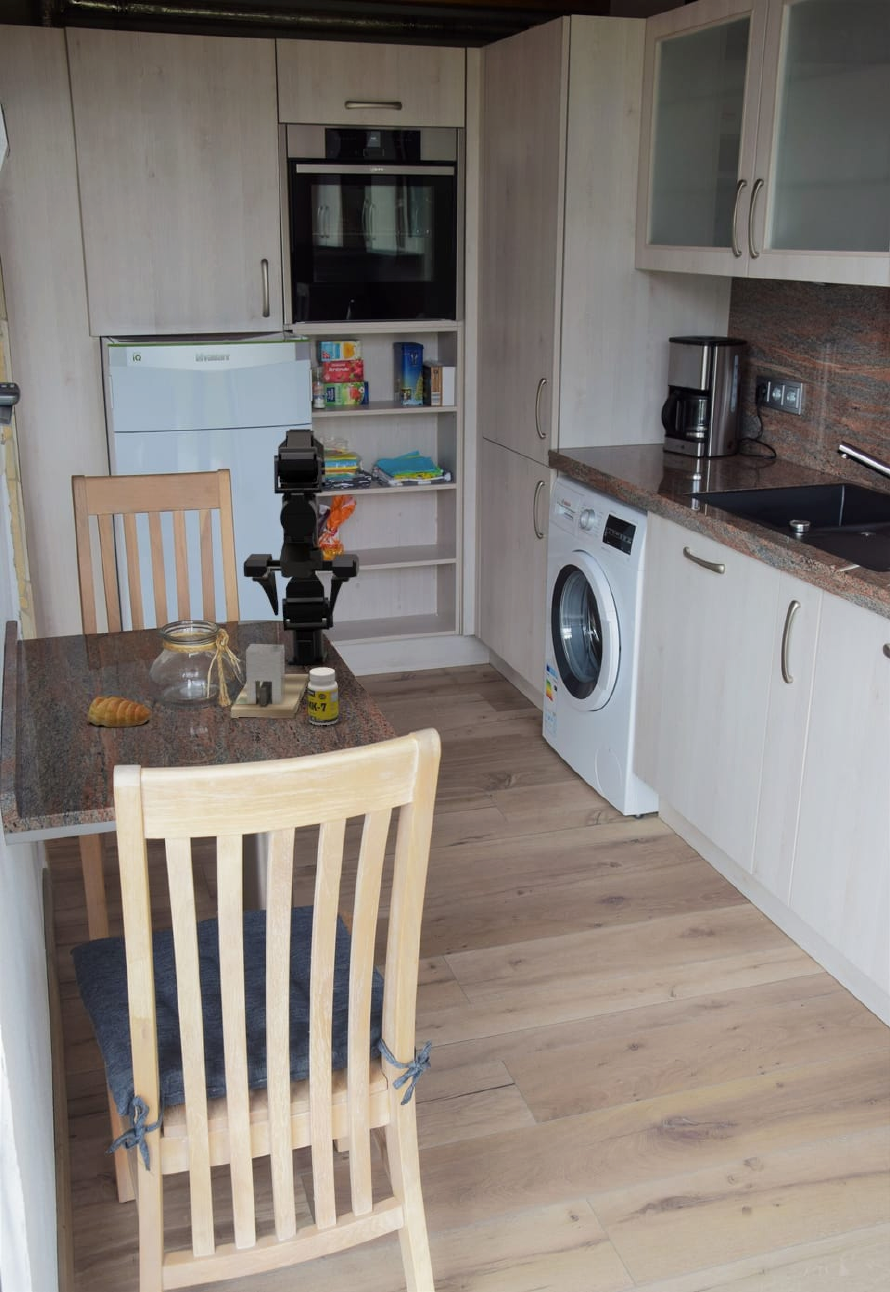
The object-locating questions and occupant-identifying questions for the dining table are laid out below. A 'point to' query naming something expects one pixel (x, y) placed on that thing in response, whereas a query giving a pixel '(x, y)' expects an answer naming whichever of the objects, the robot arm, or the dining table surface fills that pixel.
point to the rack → (264, 707)
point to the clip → (265, 671)
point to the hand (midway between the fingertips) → (303, 615)
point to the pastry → (117, 712)
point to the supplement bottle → (322, 697)
